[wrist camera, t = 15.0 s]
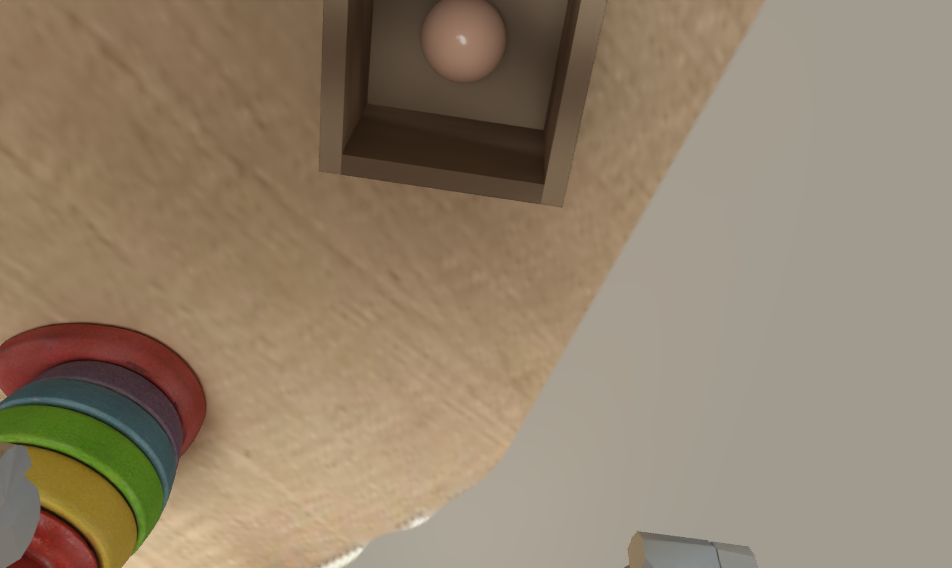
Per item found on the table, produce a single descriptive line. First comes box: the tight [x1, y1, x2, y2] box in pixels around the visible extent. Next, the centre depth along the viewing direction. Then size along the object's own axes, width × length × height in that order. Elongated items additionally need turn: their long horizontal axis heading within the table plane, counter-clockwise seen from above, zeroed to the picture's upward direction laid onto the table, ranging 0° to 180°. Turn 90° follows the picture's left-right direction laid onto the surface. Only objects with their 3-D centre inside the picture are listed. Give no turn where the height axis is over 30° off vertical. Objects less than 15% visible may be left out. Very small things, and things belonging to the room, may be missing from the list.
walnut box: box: [319, 0, 607, 207], centre depth 29 cm, size 9×9×6 cm
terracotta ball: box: [421, 0, 506, 83], centre depth 30 cm, size 3×3×3 cm
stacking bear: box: [0, 324, 205, 568], centre depth 36 cm, size 11×10×18 cm
